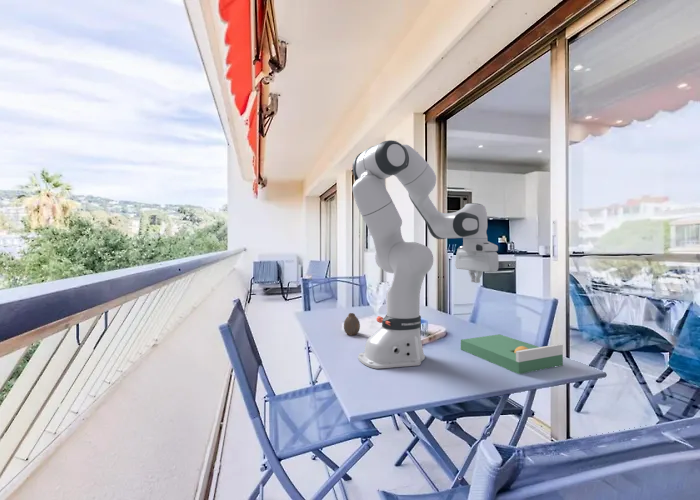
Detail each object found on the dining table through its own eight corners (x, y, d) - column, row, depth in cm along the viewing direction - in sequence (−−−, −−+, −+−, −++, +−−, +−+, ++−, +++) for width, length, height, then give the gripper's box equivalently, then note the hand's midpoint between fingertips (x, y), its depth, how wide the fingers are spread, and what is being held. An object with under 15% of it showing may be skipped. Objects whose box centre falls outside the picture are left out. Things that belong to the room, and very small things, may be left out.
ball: (522, 350, 110) (513, 361, 112) (537, 357, 110) (527, 368, 112) (518, 340, 115) (509, 351, 117) (532, 347, 115) (522, 357, 117)
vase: (340, 334, 152) (340, 313, 152) (352, 331, 157) (352, 311, 157) (351, 337, 147) (351, 316, 147) (363, 334, 152) (363, 313, 151)
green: (518, 374, 104) (518, 352, 104) (460, 349, 128) (460, 331, 128) (562, 365, 111) (562, 344, 111) (499, 343, 135) (499, 326, 135)
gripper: (451, 246, 145) (451, 280, 145) (487, 246, 126) (487, 285, 126) (463, 245, 147) (464, 279, 147) (501, 246, 128) (501, 284, 128)
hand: (475, 282), depth 137 cm, fingers closed
